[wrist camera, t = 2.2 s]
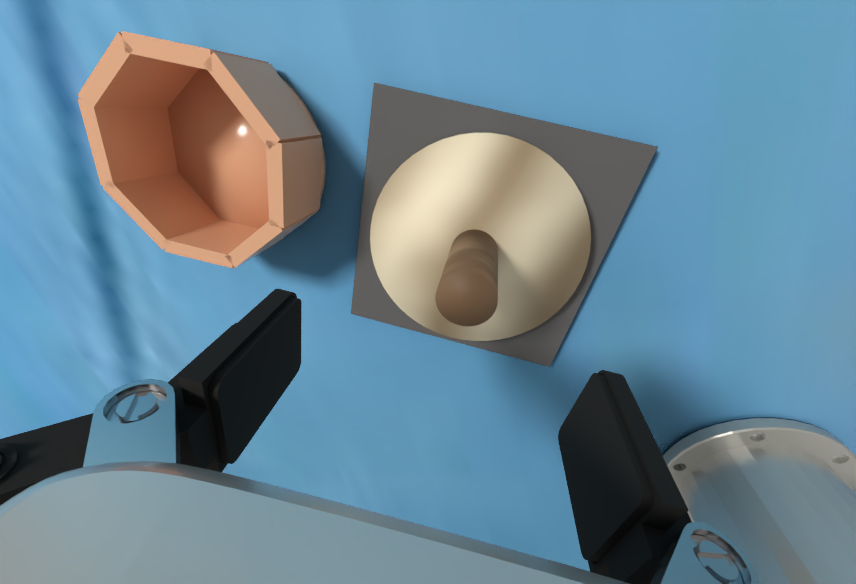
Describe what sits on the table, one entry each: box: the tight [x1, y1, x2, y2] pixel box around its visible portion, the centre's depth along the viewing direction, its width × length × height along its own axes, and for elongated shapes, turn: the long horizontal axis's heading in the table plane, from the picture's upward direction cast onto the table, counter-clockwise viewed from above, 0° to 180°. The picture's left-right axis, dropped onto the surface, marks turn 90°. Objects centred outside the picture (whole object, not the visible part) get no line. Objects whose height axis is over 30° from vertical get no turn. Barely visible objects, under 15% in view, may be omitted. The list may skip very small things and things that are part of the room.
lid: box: [370, 132, 591, 341], centre depth 19 cm, size 13×13×7 cm
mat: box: [351, 83, 657, 367], centre depth 22 cm, size 15×15×1 cm
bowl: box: [77, 31, 326, 268], centre depth 20 cm, size 11×11×5 cm
